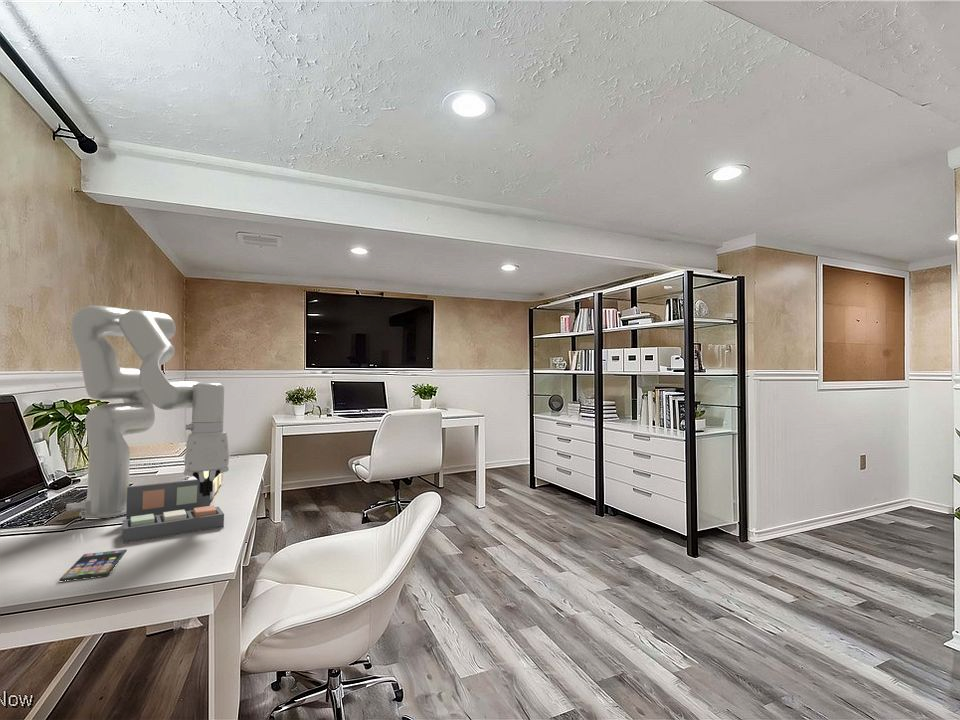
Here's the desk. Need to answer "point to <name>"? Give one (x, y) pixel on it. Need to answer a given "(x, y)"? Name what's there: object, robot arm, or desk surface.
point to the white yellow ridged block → (216, 482)
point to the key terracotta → (204, 511)
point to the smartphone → (93, 565)
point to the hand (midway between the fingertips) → (205, 495)
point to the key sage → (142, 520)
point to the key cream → (174, 515)
